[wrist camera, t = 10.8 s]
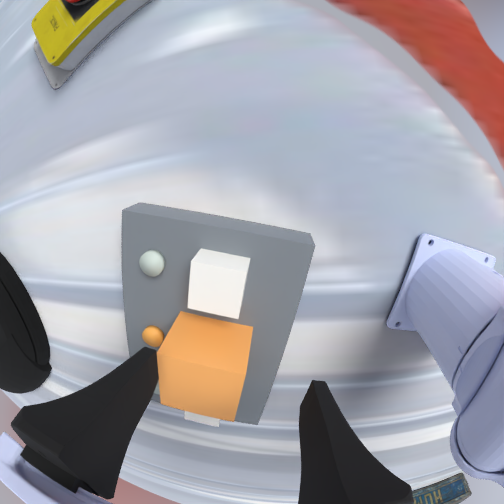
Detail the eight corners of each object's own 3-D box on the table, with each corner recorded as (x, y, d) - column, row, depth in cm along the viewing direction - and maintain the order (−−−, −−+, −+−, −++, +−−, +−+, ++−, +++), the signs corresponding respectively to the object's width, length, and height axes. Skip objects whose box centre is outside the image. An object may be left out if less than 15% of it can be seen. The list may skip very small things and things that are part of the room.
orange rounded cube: (253, 326, 18) (245, 374, 14) (241, 376, 19) (234, 421, 15) (180, 311, 18) (156, 353, 14) (179, 362, 20) (160, 403, 15)
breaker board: (310, 233, 18) (319, 258, 14) (259, 405, 24) (255, 441, 20) (139, 202, 18) (105, 217, 14) (145, 378, 24) (128, 409, 20)
